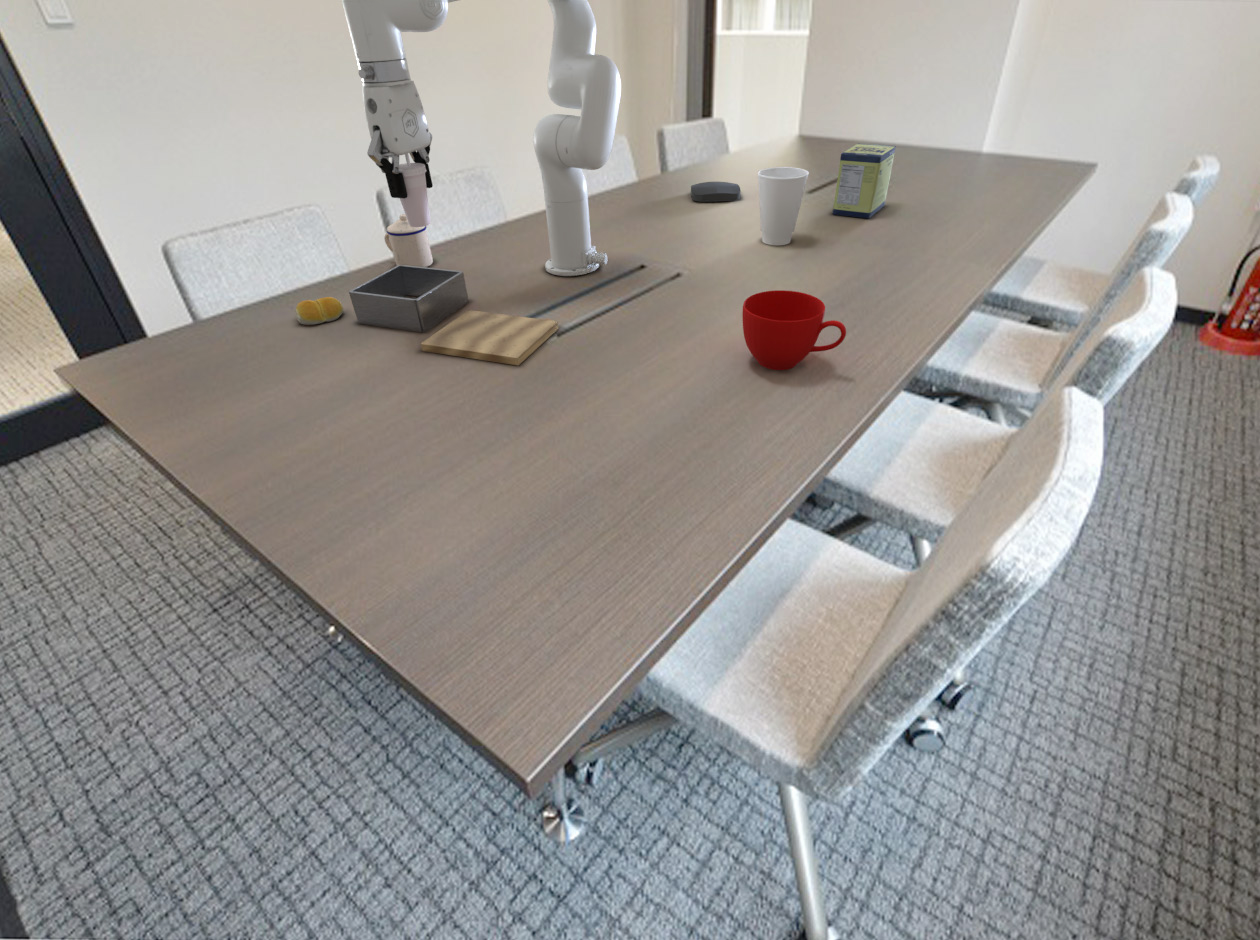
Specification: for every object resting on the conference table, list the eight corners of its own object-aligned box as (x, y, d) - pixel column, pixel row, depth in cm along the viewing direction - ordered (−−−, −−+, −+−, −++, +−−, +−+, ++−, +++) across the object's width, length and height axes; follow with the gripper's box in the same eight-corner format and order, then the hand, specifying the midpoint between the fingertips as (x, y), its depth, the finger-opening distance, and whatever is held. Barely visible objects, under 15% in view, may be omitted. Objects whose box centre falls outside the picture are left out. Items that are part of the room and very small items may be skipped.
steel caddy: (469, 301, 135) (464, 271, 131) (424, 332, 123) (416, 300, 119) (406, 293, 140) (399, 264, 136) (357, 323, 128) (347, 291, 124)
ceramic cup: (825, 392, 99) (835, 332, 93) (726, 368, 107) (729, 312, 101) (850, 358, 108) (860, 302, 102) (756, 339, 116) (761, 285, 110)
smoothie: (427, 230, 113) (407, 142, 105) (395, 229, 114) (372, 142, 106) (443, 219, 118) (426, 135, 110) (412, 218, 119) (392, 135, 111)
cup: (747, 246, 158) (752, 176, 148) (758, 232, 166) (763, 165, 157) (795, 250, 154) (804, 179, 144) (804, 235, 163) (812, 167, 153)
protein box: (885, 205, 182) (896, 145, 173) (869, 219, 172) (881, 156, 163) (848, 201, 187) (857, 142, 178) (831, 214, 177) (840, 153, 167)
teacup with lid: (441, 260, 157) (431, 211, 150) (417, 272, 151) (405, 221, 144) (403, 255, 162) (391, 207, 155) (378, 267, 155) (364, 217, 148)
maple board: (558, 328, 122) (558, 321, 122) (518, 365, 111) (517, 358, 110) (469, 316, 129) (468, 309, 128) (422, 351, 117) (420, 343, 116)
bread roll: (348, 318, 130) (342, 299, 128) (302, 329, 127) (295, 310, 124) (339, 305, 136) (333, 287, 134) (294, 316, 132) (288, 297, 130)
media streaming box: (741, 201, 191) (742, 191, 189) (692, 203, 191) (693, 193, 190) (735, 189, 203) (736, 179, 201) (689, 191, 203) (690, 181, 201)
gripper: (367, 80, 95) (398, 206, 105) (436, 67, 107) (458, 181, 118) (327, 80, 97) (362, 204, 108) (400, 68, 110) (425, 179, 120)
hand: (412, 191), depth 113 cm, fingers closed on smoothie, 6 cm apart
